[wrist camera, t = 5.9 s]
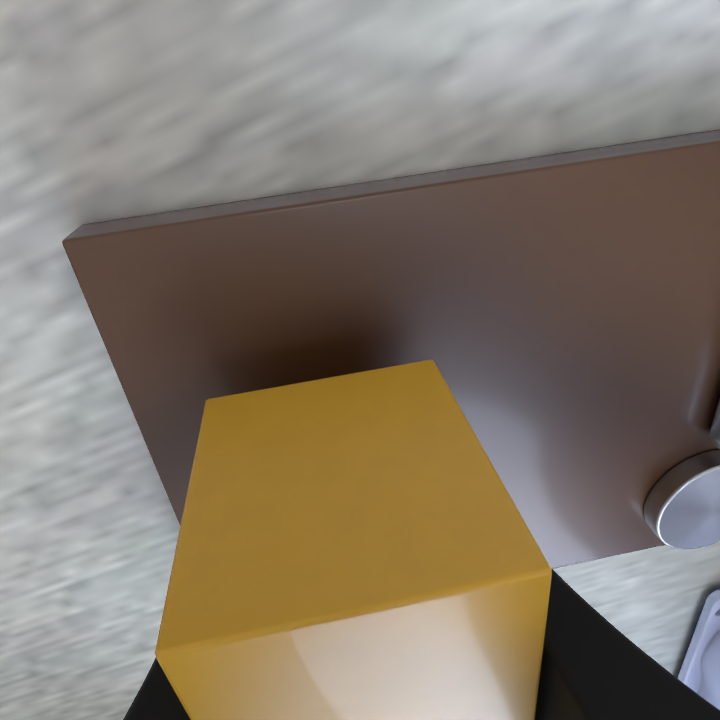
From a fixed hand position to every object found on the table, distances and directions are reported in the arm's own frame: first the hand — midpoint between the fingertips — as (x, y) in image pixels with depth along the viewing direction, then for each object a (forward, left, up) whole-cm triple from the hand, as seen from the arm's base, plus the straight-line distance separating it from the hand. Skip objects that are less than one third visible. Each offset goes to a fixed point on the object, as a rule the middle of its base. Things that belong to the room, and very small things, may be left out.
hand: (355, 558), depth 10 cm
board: (0, -6, -4) cm, 7 cm away
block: (0, 0, -1) cm, 1 cm away
